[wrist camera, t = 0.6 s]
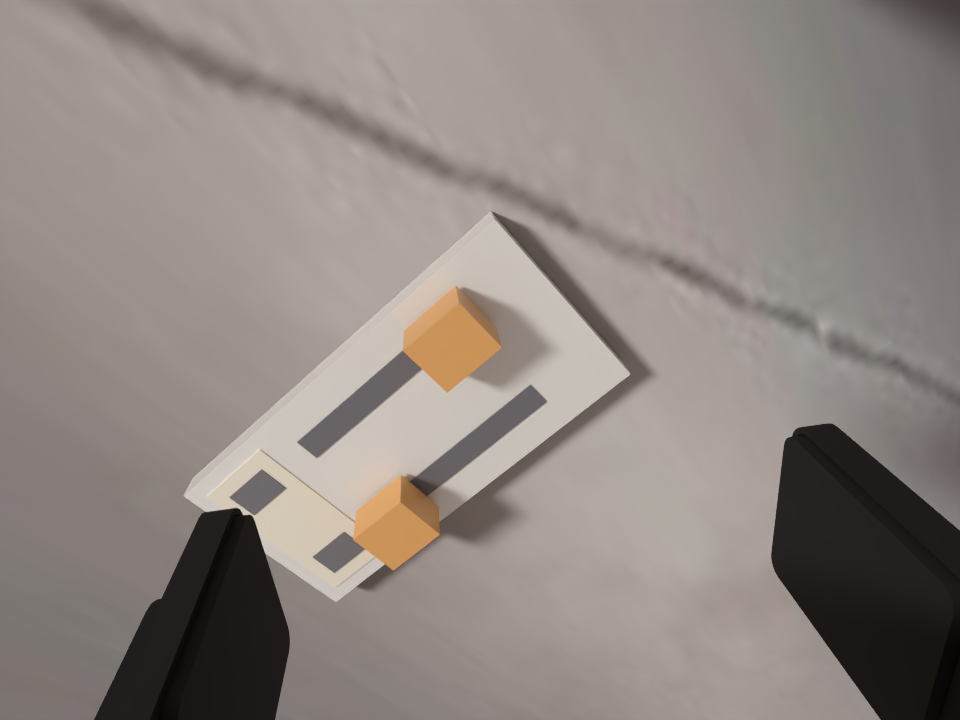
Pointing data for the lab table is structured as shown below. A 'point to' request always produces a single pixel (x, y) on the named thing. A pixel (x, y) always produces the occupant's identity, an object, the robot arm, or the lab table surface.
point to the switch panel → (411, 413)
